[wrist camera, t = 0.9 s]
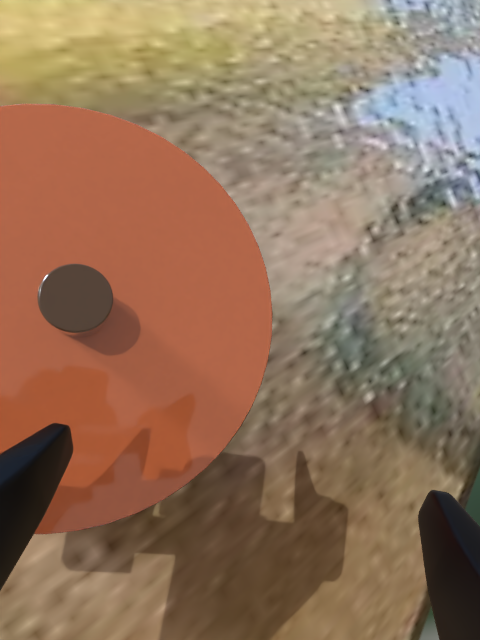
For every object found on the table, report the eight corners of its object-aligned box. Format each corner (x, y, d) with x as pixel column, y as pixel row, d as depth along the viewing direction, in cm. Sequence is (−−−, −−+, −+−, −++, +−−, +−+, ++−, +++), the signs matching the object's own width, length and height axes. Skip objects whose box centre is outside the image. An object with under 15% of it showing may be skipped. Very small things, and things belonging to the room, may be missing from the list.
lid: (31, 621, 17) (7, 723, 12) (-325, 255, 14) (-534, 205, 10) (324, 346, 24) (382, 344, 19) (121, 56, 21) (129, -32, 16)
